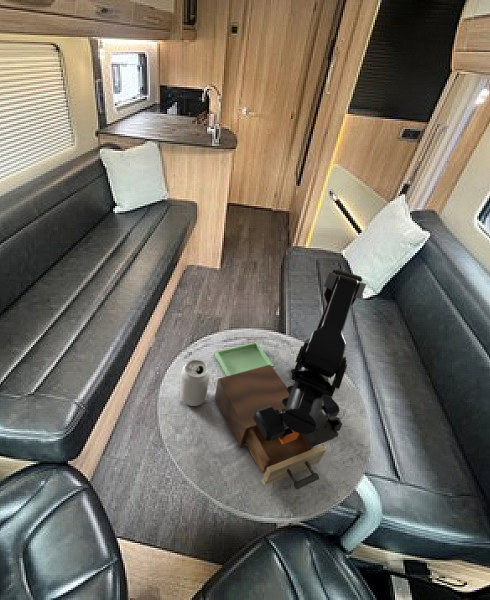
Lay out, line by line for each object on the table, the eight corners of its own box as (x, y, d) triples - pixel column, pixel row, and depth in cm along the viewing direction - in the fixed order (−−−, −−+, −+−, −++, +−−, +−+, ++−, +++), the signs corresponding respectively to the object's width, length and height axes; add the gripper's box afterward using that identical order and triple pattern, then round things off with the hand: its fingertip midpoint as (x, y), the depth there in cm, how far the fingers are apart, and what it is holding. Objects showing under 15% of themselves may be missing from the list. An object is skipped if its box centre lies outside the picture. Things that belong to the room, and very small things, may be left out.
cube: (286, 424, 77) (291, 414, 75) (296, 439, 74) (301, 429, 72) (272, 429, 76) (276, 419, 73) (282, 444, 73) (286, 434, 71)
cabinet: (294, 427, 86) (302, 408, 81) (239, 447, 80) (245, 428, 75) (264, 382, 97) (270, 364, 92) (214, 397, 91) (217, 378, 86)
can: (203, 410, 87) (207, 381, 80) (176, 404, 88) (178, 375, 81) (208, 389, 93) (213, 360, 86) (183, 383, 94) (186, 354, 87)
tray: (255, 345, 110) (256, 341, 109) (272, 369, 102) (274, 365, 100) (214, 355, 104) (215, 351, 103) (230, 381, 96) (231, 377, 95)
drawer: (330, 480, 75) (339, 466, 71) (274, 505, 69) (281, 492, 65) (284, 413, 88) (290, 398, 84) (235, 430, 82) (239, 415, 79)
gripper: (291, 441, 56) (271, 484, 65) (370, 411, 62) (342, 453, 72) (259, 391, 64) (245, 435, 73) (332, 369, 70) (311, 412, 80)
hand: (287, 434), depth 74 cm, fingers closed on cube, 4 cm apart
